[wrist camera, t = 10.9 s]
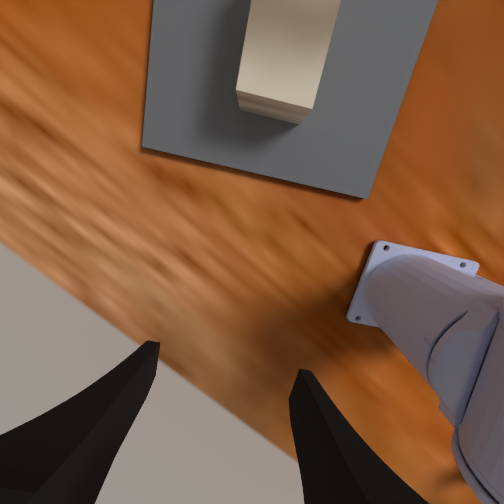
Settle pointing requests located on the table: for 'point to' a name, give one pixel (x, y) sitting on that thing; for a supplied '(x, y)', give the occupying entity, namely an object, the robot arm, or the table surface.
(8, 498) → the robot arm
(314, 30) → the birch card box
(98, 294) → the table surface
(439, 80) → the table surface
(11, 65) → the table surface
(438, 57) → the table surface
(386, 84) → the charcoal rubber mat
